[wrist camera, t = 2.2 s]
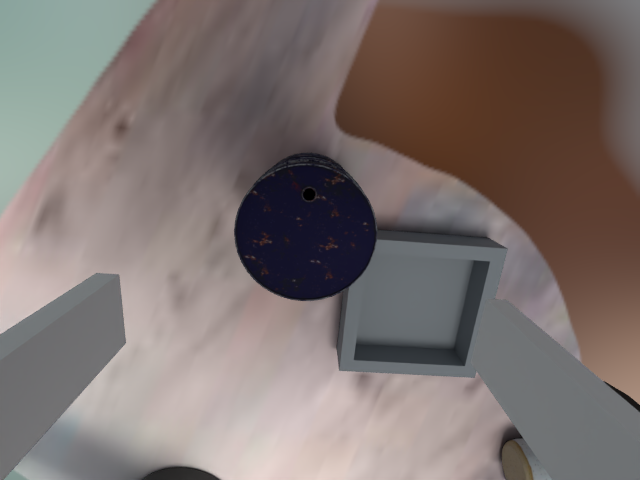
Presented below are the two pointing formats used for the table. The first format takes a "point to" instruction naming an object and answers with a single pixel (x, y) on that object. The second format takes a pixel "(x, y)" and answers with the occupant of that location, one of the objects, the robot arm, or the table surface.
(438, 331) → the tray
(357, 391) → the table surface
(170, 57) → the table surface
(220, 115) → the table surface
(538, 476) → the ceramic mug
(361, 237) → the storage jar
